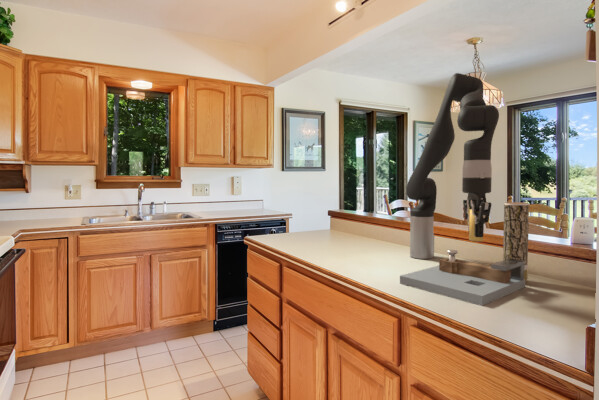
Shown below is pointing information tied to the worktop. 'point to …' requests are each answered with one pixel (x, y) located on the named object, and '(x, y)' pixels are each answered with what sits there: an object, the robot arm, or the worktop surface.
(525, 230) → the brown bark-textured cylinder
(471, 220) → the pin
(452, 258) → the pintle
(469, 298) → the board
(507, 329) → the worktop surface
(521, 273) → the keeper
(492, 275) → the link
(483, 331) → the worktop surface
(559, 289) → the worktop surface
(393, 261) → the worktop surface
